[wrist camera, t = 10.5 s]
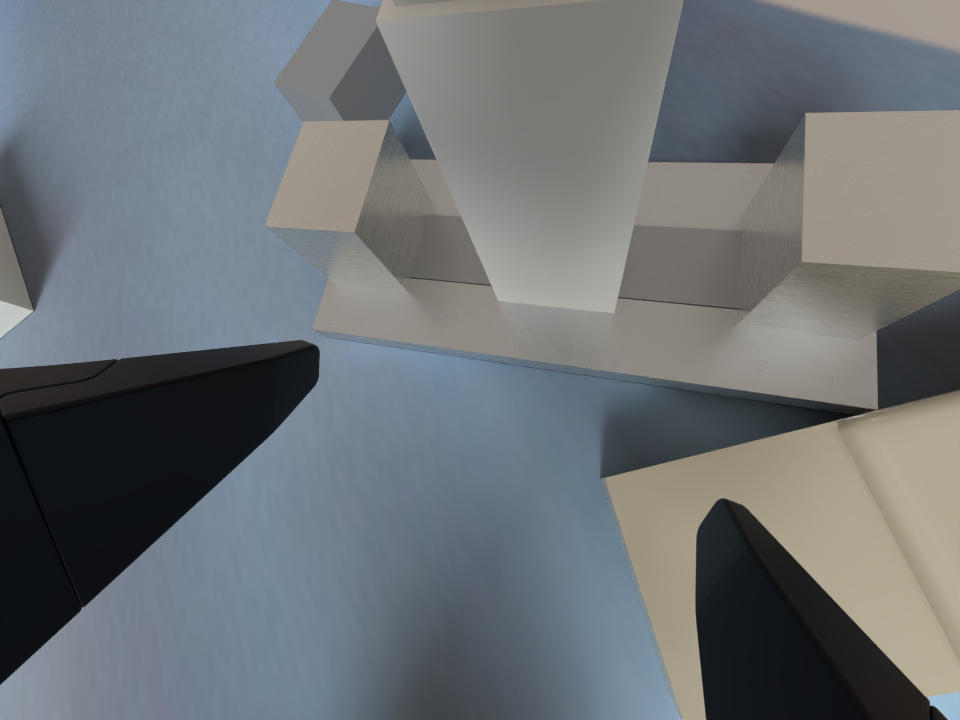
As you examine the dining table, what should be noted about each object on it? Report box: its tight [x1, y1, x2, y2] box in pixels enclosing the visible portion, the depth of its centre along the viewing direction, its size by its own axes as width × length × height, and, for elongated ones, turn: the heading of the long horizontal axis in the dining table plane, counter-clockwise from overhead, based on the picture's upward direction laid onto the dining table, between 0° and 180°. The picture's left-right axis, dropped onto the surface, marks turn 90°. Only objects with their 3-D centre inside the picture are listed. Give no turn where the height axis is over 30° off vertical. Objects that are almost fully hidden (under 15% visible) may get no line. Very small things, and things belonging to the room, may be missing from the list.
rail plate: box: [265, 110, 960, 415], centre depth 17 cm, size 10×23×6 cm, turn 79°
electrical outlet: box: [600, 389, 960, 720], centre depth 13 cm, size 7×4×18 cm
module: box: [376, 0, 684, 313], centre depth 13 cm, size 5×5×12 cm
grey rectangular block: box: [274, 0, 406, 122], centre depth 24 cm, size 6×4×4 cm, turn 153°
